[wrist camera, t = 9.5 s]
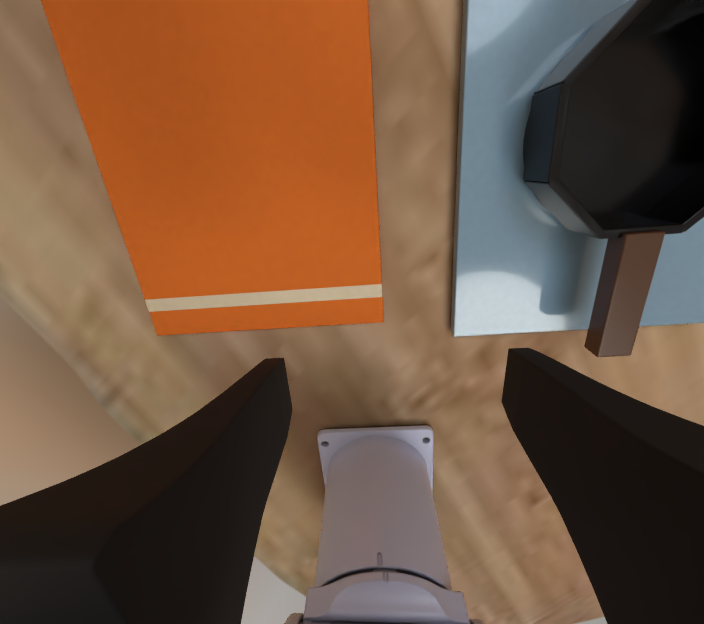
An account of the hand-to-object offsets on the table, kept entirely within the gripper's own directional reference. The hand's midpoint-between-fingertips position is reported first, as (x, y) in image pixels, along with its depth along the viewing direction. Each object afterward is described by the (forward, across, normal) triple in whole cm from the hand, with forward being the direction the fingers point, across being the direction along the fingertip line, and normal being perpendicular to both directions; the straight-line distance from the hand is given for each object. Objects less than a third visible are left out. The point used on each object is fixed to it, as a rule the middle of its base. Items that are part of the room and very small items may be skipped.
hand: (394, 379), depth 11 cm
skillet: (+8, -11, -4) cm, 14 cm away
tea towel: (+9, +7, -8) cm, 14 cm away
